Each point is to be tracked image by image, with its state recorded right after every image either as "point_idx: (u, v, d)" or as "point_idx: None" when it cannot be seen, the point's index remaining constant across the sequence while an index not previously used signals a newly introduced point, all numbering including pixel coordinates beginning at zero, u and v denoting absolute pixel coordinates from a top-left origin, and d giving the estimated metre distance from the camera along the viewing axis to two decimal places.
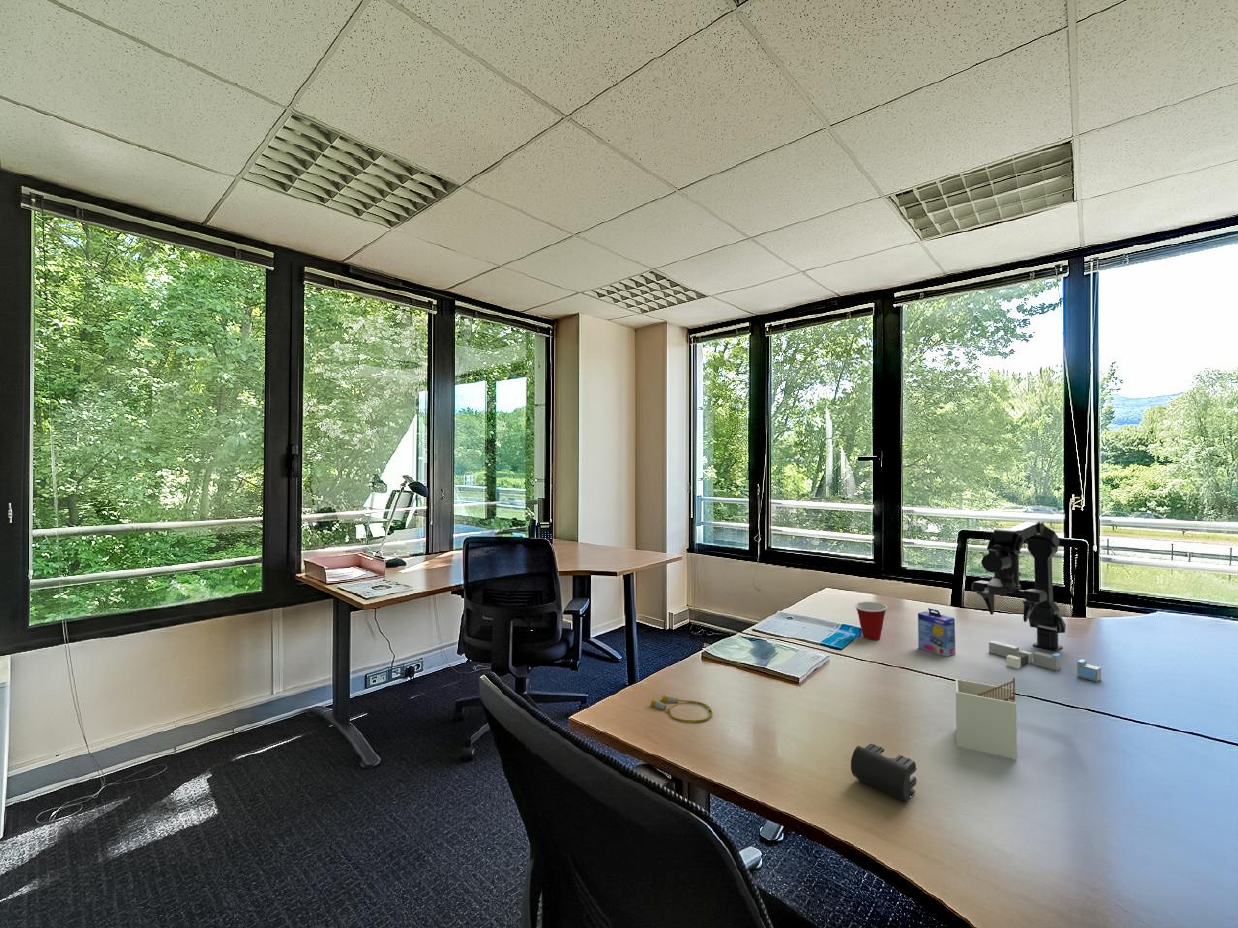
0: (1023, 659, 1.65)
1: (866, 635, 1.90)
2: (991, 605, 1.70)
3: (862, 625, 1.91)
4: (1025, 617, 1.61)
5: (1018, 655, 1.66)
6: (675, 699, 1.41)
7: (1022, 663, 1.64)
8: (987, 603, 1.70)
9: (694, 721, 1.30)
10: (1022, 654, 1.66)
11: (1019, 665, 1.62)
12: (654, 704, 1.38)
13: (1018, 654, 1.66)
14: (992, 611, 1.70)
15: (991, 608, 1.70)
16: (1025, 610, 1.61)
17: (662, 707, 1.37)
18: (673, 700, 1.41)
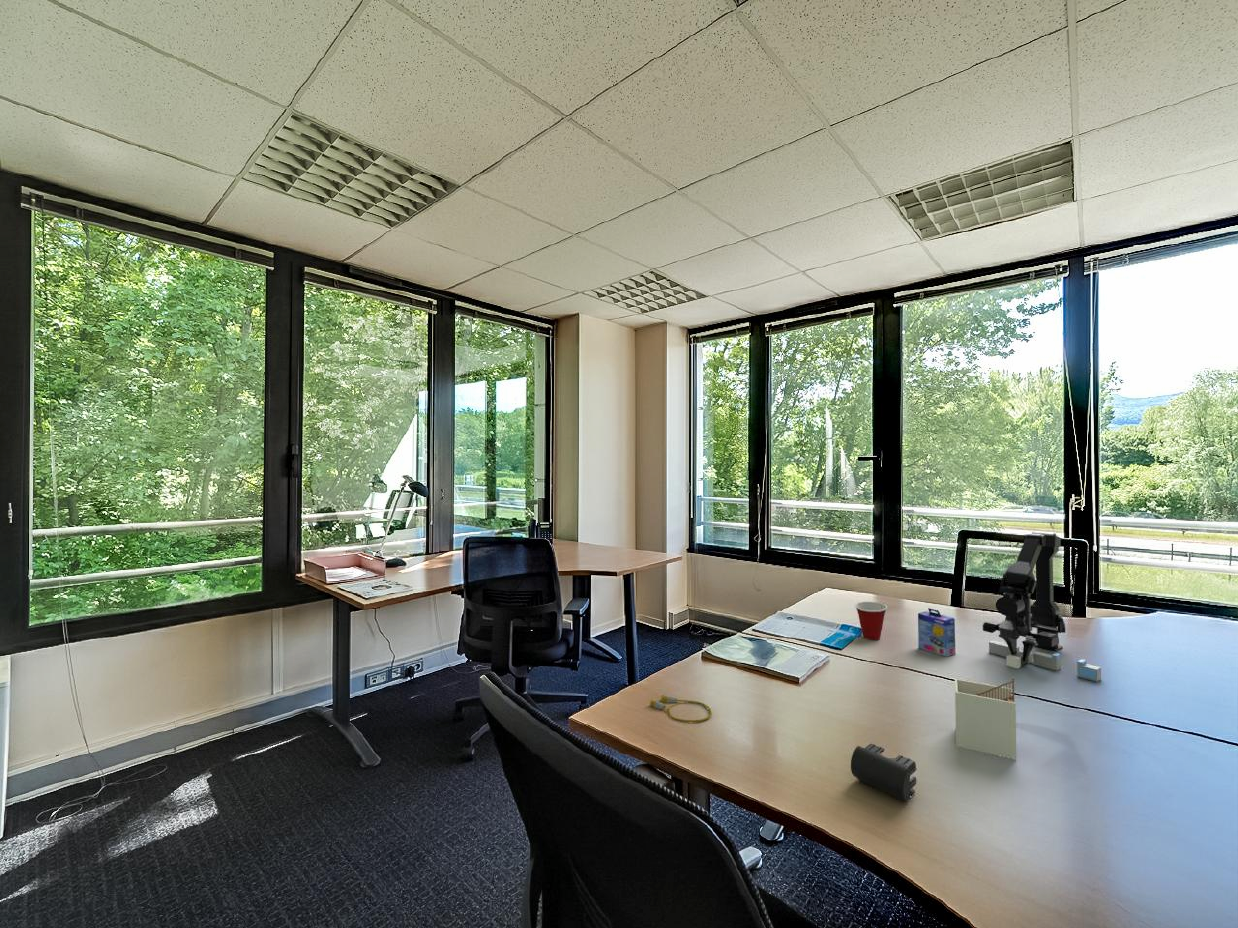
0: None
1: (866, 635, 1.90)
2: (1014, 649, 1.67)
3: (862, 625, 1.91)
4: (1024, 657, 1.64)
5: (1018, 655, 1.66)
6: (674, 699, 1.41)
7: (1022, 663, 1.64)
8: (1010, 647, 1.67)
9: (693, 721, 1.30)
10: (1022, 654, 1.66)
11: (1019, 665, 1.62)
12: (653, 704, 1.38)
13: (1018, 654, 1.66)
14: None
15: (1014, 652, 1.66)
16: (1024, 650, 1.63)
17: (661, 707, 1.37)
18: (672, 700, 1.41)
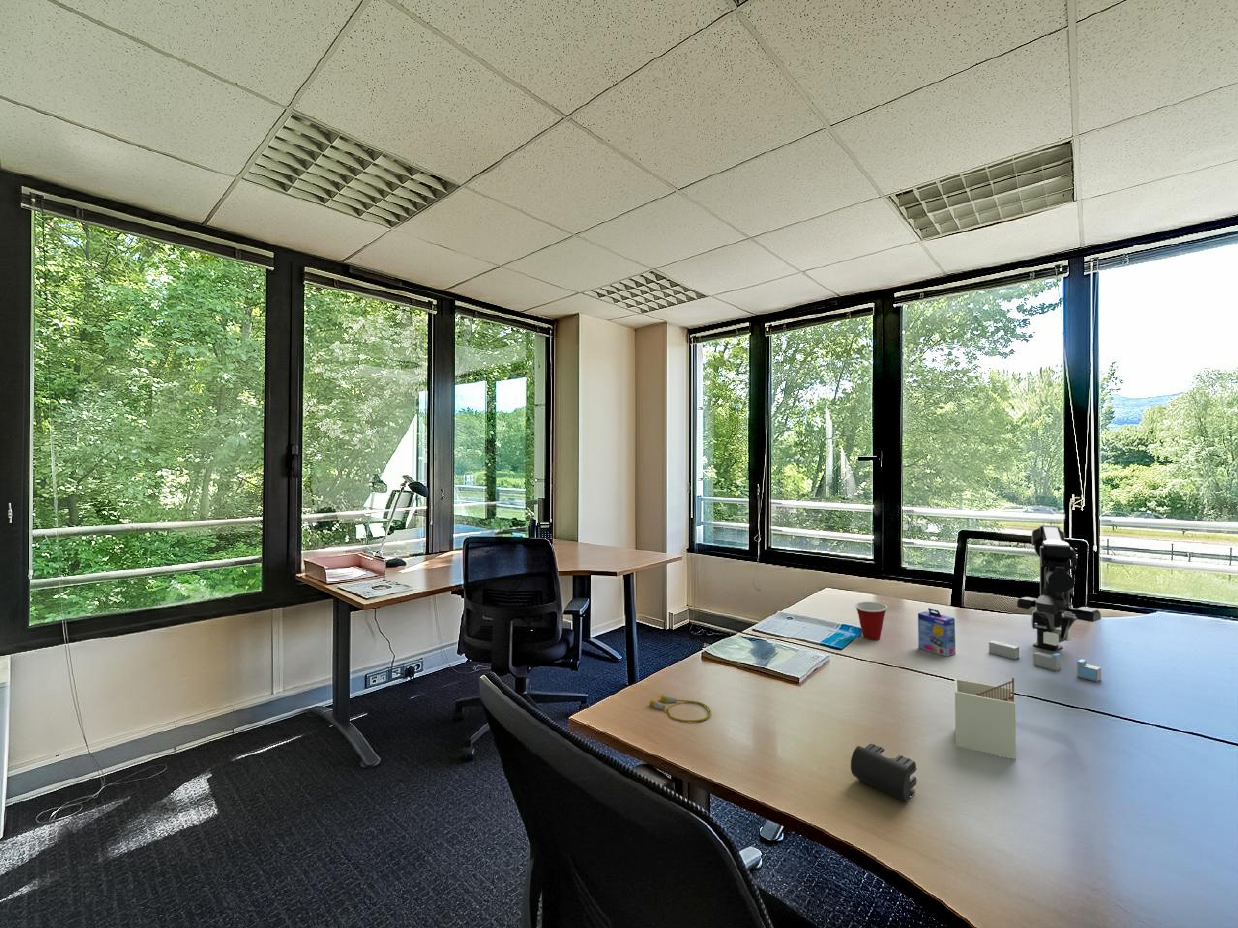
0: None
1: (866, 635, 1.90)
2: (1051, 626, 1.58)
3: (862, 625, 1.91)
4: (1063, 634, 1.55)
5: (1056, 632, 1.57)
6: (674, 699, 1.41)
7: (1060, 640, 1.55)
8: (1046, 624, 1.58)
9: (693, 721, 1.30)
10: (1060, 631, 1.58)
11: (1057, 642, 1.54)
12: (653, 704, 1.38)
13: (1055, 631, 1.58)
14: None
15: (1051, 629, 1.58)
16: (1063, 627, 1.55)
17: (661, 707, 1.37)
18: (672, 700, 1.41)
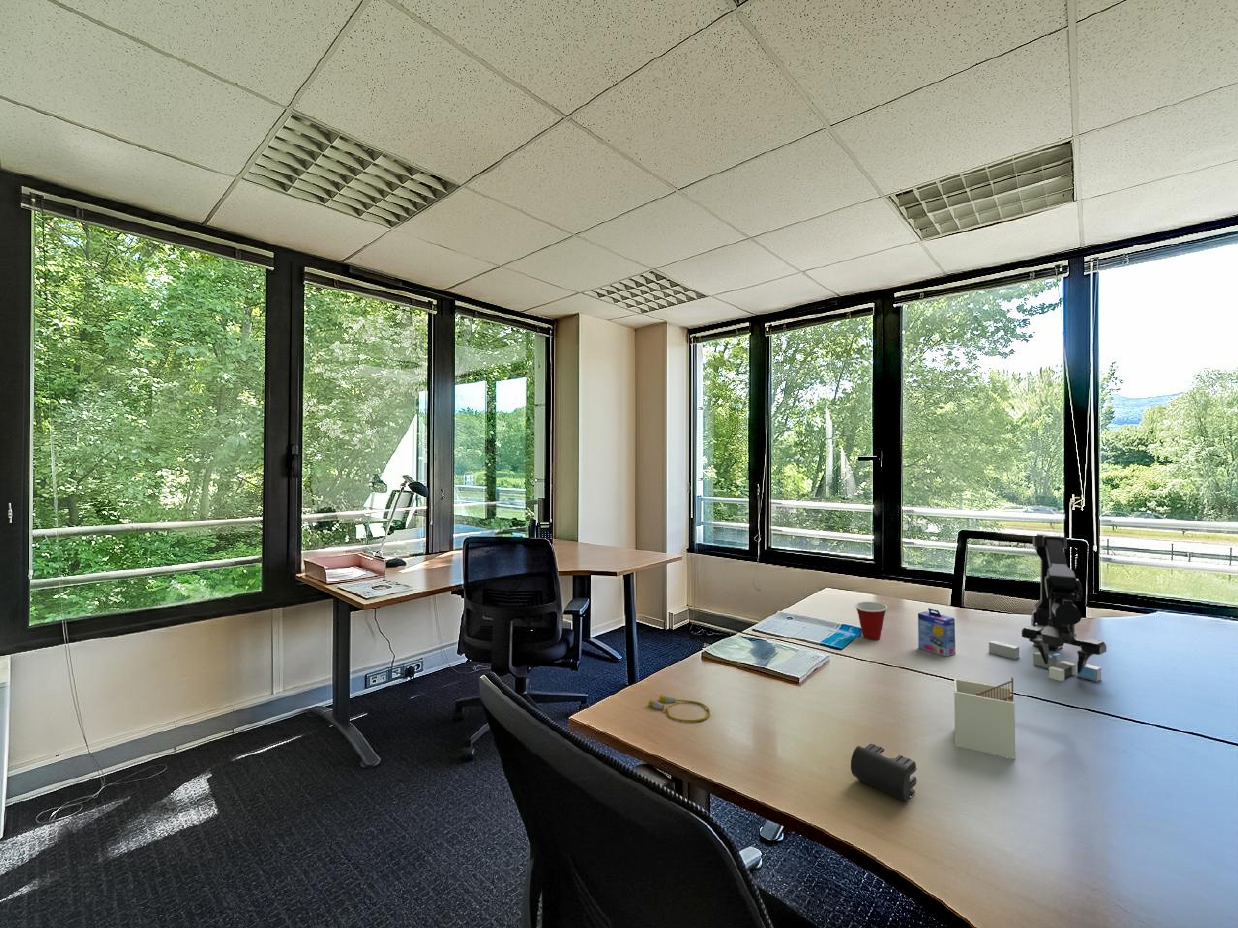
0: (1067, 671, 1.55)
1: (866, 635, 1.90)
2: (1045, 654, 1.59)
3: (862, 625, 1.91)
4: (1079, 668, 1.52)
5: (1061, 666, 1.56)
6: (673, 699, 1.41)
7: (1065, 675, 1.55)
8: (1041, 652, 1.60)
9: (692, 721, 1.30)
10: (1065, 665, 1.57)
11: (1063, 677, 1.53)
12: (652, 704, 1.38)
13: (1061, 665, 1.57)
14: (1047, 660, 1.59)
15: (1046, 657, 1.59)
16: (1080, 661, 1.52)
17: (660, 707, 1.37)
18: (671, 700, 1.41)
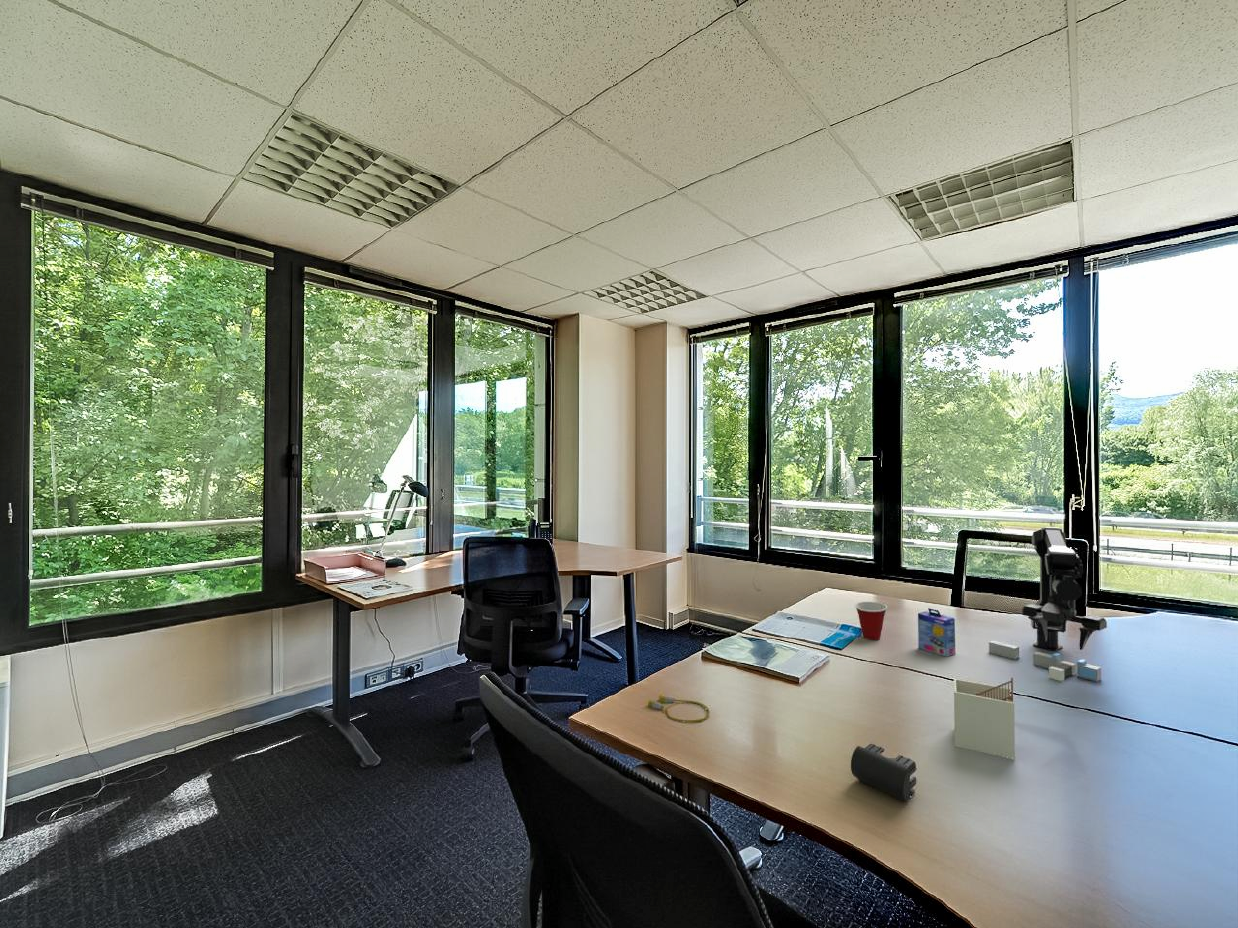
0: (1067, 671, 1.55)
1: (866, 635, 1.90)
2: (1044, 631, 1.60)
3: (862, 625, 1.91)
4: (1081, 645, 1.52)
5: (1061, 666, 1.56)
6: (672, 699, 1.41)
7: (1065, 675, 1.55)
8: (1040, 629, 1.60)
9: (692, 721, 1.30)
10: (1065, 665, 1.57)
11: (1063, 677, 1.53)
12: (651, 704, 1.38)
13: (1061, 665, 1.57)
14: (1045, 638, 1.60)
15: (1044, 634, 1.60)
16: (1081, 638, 1.52)
17: (659, 707, 1.37)
18: (670, 700, 1.41)
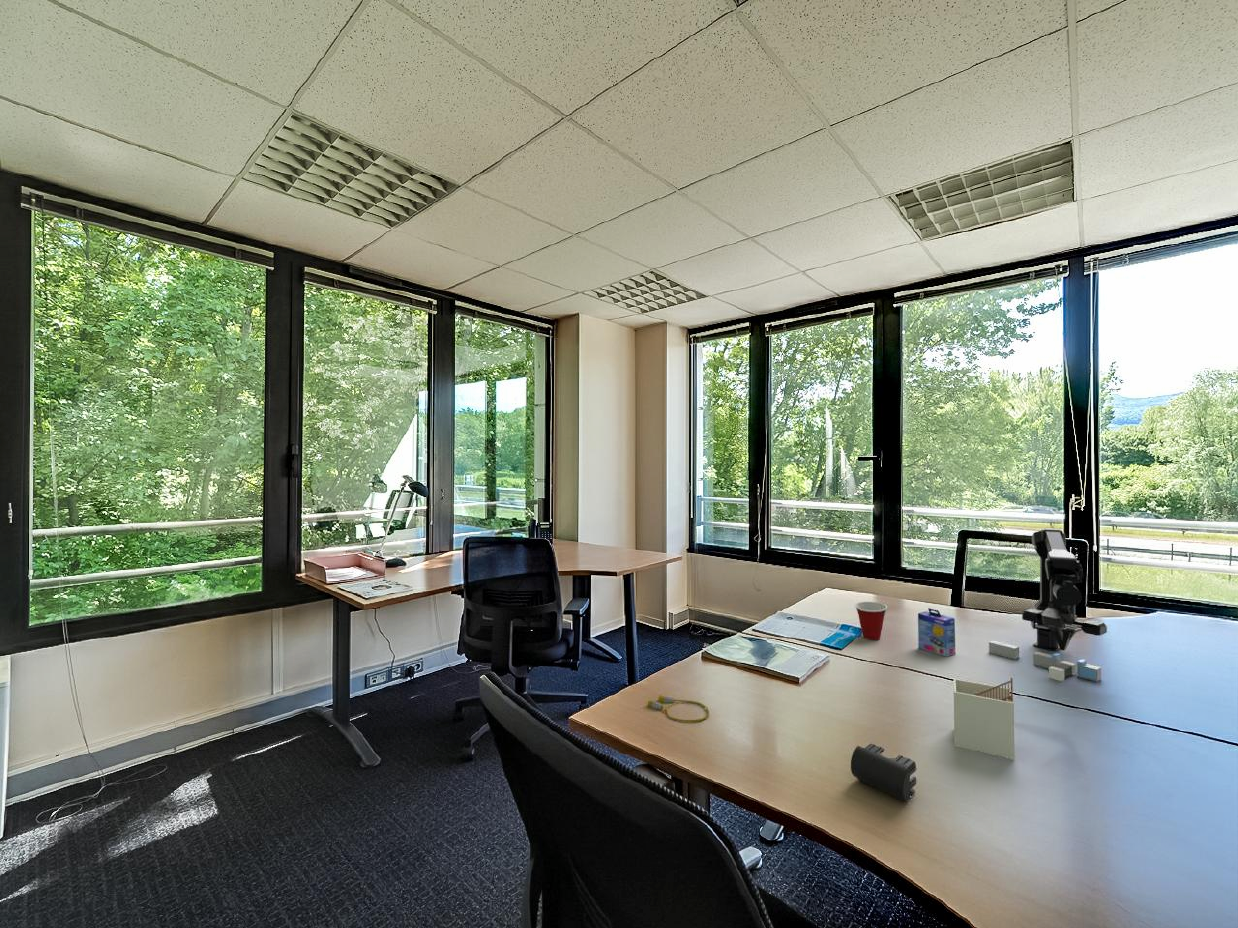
0: (1067, 671, 1.55)
1: (866, 635, 1.90)
2: (1061, 640, 1.56)
3: (862, 625, 1.91)
4: (1064, 646, 1.56)
5: (1061, 666, 1.56)
6: (672, 699, 1.41)
7: (1065, 675, 1.55)
8: (1057, 637, 1.57)
9: (691, 721, 1.30)
10: (1065, 665, 1.57)
11: (1063, 677, 1.53)
12: (651, 704, 1.38)
13: (1061, 665, 1.57)
14: None
15: (1061, 643, 1.56)
16: (1064, 638, 1.55)
17: (659, 707, 1.37)
18: (670, 700, 1.41)
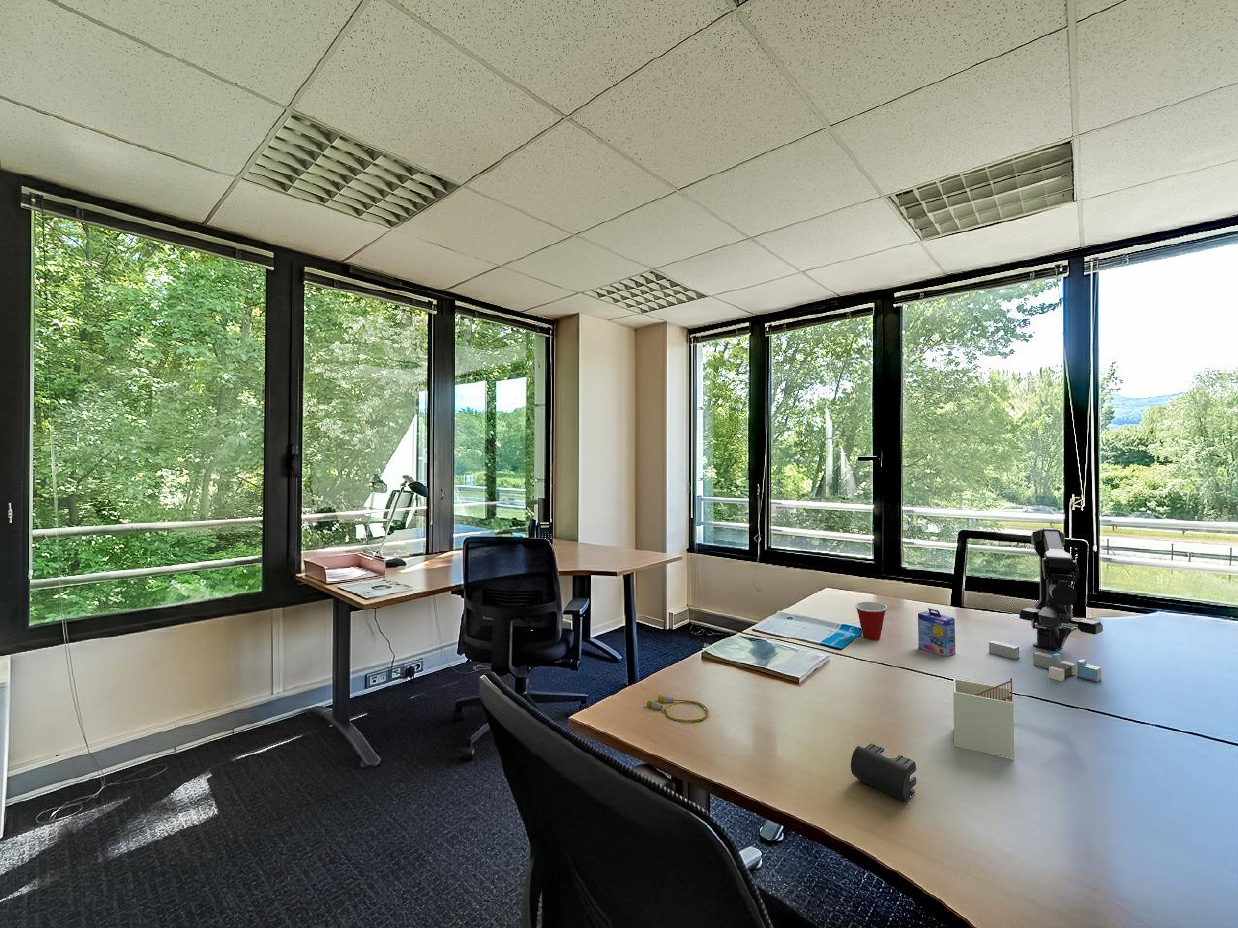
0: (1067, 671, 1.55)
1: (866, 635, 1.90)
2: (1058, 638, 1.58)
3: (862, 625, 1.91)
4: (1060, 644, 1.57)
5: (1061, 666, 1.56)
6: (671, 699, 1.41)
7: (1065, 675, 1.55)
8: (1053, 636, 1.58)
9: (691, 721, 1.30)
10: (1065, 665, 1.57)
11: (1063, 677, 1.53)
12: (650, 704, 1.38)
13: (1061, 665, 1.57)
14: None
15: (1058, 642, 1.58)
16: (1060, 637, 1.57)
17: (658, 707, 1.37)
18: (669, 700, 1.41)
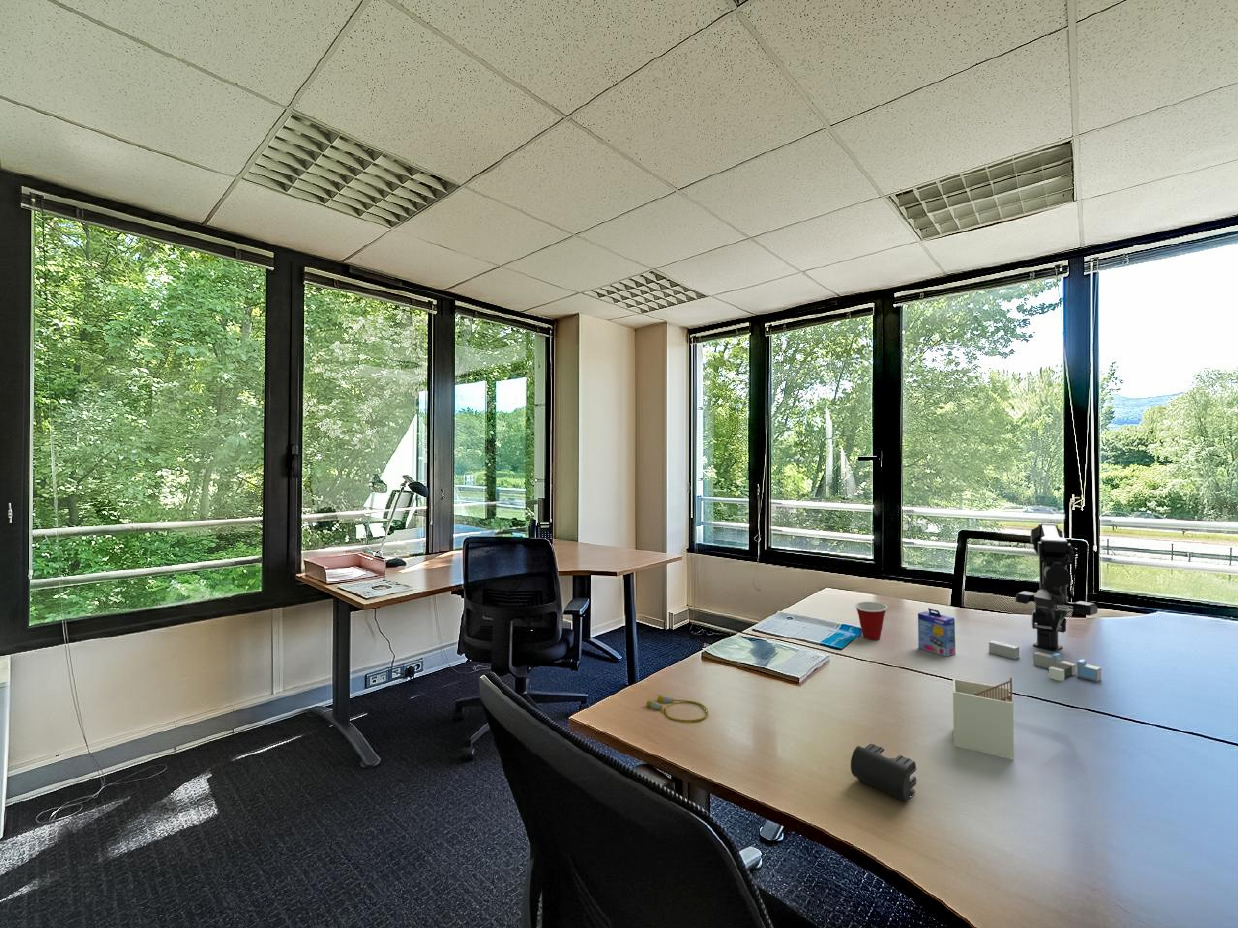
0: (1067, 671, 1.55)
1: (866, 635, 1.90)
2: (1053, 621, 1.61)
3: (862, 625, 1.91)
4: (1056, 626, 1.60)
5: (1061, 666, 1.56)
6: (670, 699, 1.41)
7: (1065, 675, 1.55)
8: (1049, 619, 1.61)
9: (690, 721, 1.30)
10: (1065, 665, 1.57)
11: (1063, 677, 1.53)
12: (650, 704, 1.38)
13: (1061, 665, 1.57)
14: None
15: (1053, 624, 1.60)
16: (1056, 619, 1.59)
17: (658, 707, 1.37)
18: (669, 700, 1.41)
